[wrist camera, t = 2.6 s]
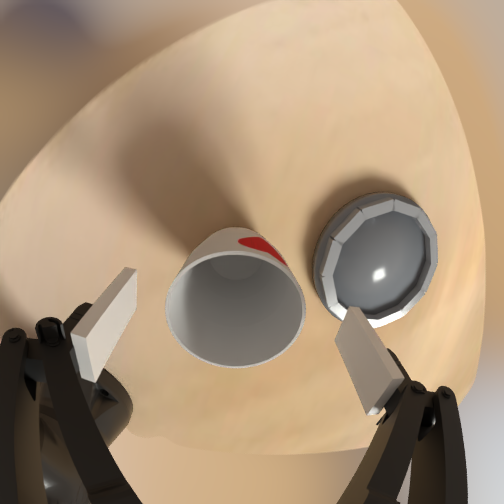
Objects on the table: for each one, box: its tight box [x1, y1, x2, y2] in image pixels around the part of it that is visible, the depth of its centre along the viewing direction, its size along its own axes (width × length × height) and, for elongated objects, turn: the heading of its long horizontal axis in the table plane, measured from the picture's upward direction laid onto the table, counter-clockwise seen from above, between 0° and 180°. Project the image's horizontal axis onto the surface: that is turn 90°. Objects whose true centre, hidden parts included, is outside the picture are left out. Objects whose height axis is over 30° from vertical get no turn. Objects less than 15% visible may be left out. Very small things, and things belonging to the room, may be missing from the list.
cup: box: [165, 227, 306, 368], centre depth 20 cm, size 8×8×10 cm
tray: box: [312, 192, 438, 328], centre depth 25 cm, size 14×14×2 cm
